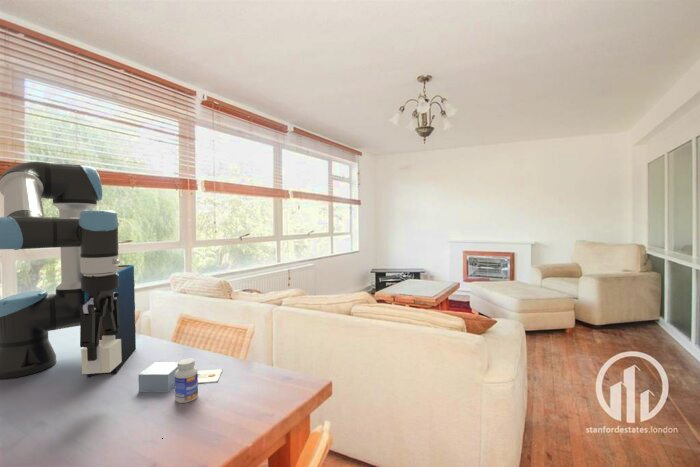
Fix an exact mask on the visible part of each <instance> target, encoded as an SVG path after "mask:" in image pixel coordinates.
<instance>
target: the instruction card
mask: <svg viewBox="0 0 700 467" xmlns="http://www.w3.org/2000/svg"><path fill="white" fill-rule="evenodd" d="M222 372H223V369H222V368H221V369H209V370H207V369H205V370H198V384H211V383H218V381H219V379H220V376H221V375H222Z"/></svg>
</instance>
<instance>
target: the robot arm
mask: <svg viewBox="0 0 700 467" xmlns="http://www.w3.org/2000/svg"><path fill="white" fill-rule="evenodd" d="M0 194H1V195H2V196H3V216H0V250H14V251H18V250H27V249H28V250H32V249H52V248H53V249H55V248H59V249H60V275H61V278H60V279H61V282H60V283H59V284H58V285H57V286H56V287H55V293H50V294H49V293H48V292H47V290H44V289H40V290H31V291H26V292H22V293H17V294H12V295H10V296H6V297H3V298H1V299H0V380H1V379H4V380H5V379H15V378H19V377H25V376H29V375H32V374H36V373H38V372H42V371H44V370H47V369H49V368H50V367H53V366H55V364H56V363H57V353H55V350H54V347H53V346H52V344H51V342H50V340H49V332H51V331H57V330H61V329H62V330H63V329H67V328H74V327H79V326H80V328H79V329H80V330H79V333H80V334H79V337H80V338H79V342H80V343H79V346H80V348H84V347H87V373H100V372H102V354H101V345H99V340H100V332H101V325H102V326H103V331H104V334H106V335H103V336H102V340H113V339H115V334H119V333H120V330H117V329H119V328H120V319H119V292H113V290H114V289H117V288H118V287H119V274H118V273H116V272H117V271H118V265H120V263H121V260H120V259H119V225H120V224H119V222H118V221H119V219H118V213H117V212H116V211H114V210H101V209H100V210H98V209H97V210H95V208H96V207H97V206H98V202H99V201H101V200H103V186H102V180H101V178H100V174H99V172H98V171H97V169H96V168H95V167H93V166H87V165H83V164H82V165H81V164H70V163H59V162H48V161H47V162H46V161H29V162H23V163H19V164H16V165H15V166H14V165H13V166H12V167H10V168H9V169H6V171H4V172H3V174H1V176H0ZM42 199H45V200H49V199H50V200H52V205H53V206H54V207H55V208H56V209H58V213H59V214H58V215H59V216H57V217H55V216H52V217H48V216H47V217H45V213H44V207H43V206H44V205H43V201H42ZM85 292H87V293H88V298H87V303H86V304H85ZM115 324H116V325H115ZM100 374H101V373H100Z"/></svg>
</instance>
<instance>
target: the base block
mask: <svg viewBox="0 0 700 467" xmlns="http://www.w3.org/2000/svg"><path fill="white" fill-rule="evenodd" d="M178 362H179V361H167V362H166V361H165V362H164V361H162V362H160V361H155V362H154V363H152V364H151V365H150V366H148V367H147V368H145V369H144V370H142V371H141V372H139V374H138V375H137V376H138V392H140V393H169V392H170V391H171V390H172V389H173V388H175V372H176V371H177V370H178V367H177V363H178Z"/></svg>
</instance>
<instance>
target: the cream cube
mask: <svg viewBox="0 0 700 467" xmlns="http://www.w3.org/2000/svg"><path fill="white" fill-rule="evenodd" d="M99 345H101V354H102V372H100V374H107V373H108V372H111V371H112V370H113V369H114V368H115V367H117V366H118V365H119V364H120V363H121V362H122V356H121V339H113V340H99ZM80 354H81V356H80V357H81V375H87V374H94V373H87V347H82V348H81V349H80Z"/></svg>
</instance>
